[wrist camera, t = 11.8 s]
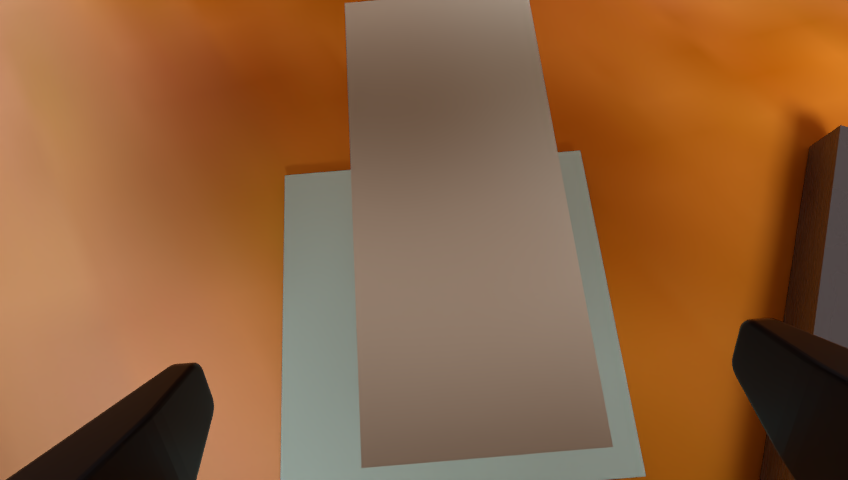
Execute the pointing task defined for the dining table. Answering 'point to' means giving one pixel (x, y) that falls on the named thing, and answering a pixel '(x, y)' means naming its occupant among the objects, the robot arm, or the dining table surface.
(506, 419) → the beige rectangular block
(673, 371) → the dining table surface
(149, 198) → the dining table surface
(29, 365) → the dining table surface
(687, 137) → the dining table surface
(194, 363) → the robot arm
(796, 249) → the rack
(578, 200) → the mat
